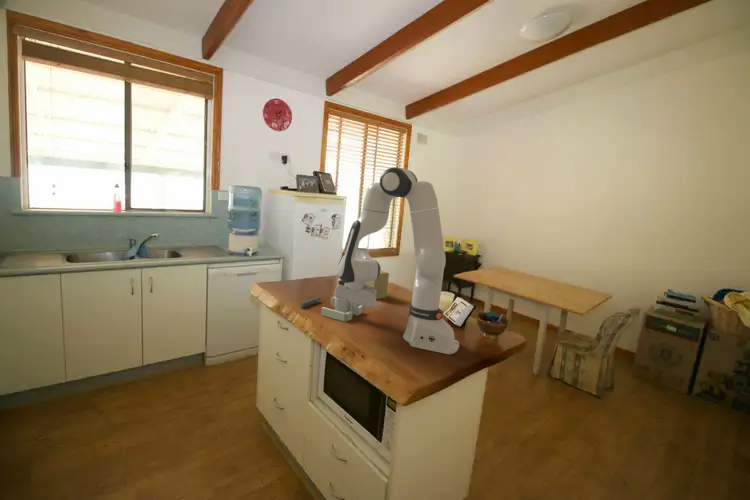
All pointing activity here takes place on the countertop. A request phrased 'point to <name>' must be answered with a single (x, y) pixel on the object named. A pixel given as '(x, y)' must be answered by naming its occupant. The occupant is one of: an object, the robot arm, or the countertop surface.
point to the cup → (341, 304)
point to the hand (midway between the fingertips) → (353, 312)
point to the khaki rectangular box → (380, 284)
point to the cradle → (341, 313)
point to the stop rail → (309, 302)
